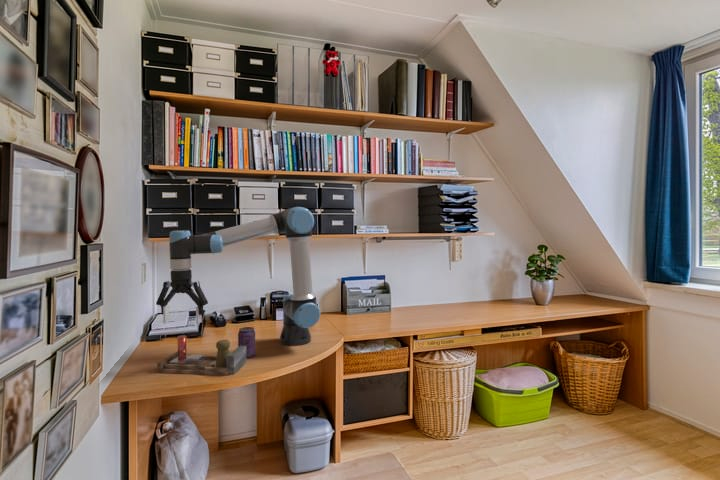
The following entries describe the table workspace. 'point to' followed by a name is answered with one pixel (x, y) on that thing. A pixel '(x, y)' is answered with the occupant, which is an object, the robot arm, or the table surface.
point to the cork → (222, 353)
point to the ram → (183, 356)
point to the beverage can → (247, 340)
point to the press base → (206, 364)
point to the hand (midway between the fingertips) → (182, 322)
